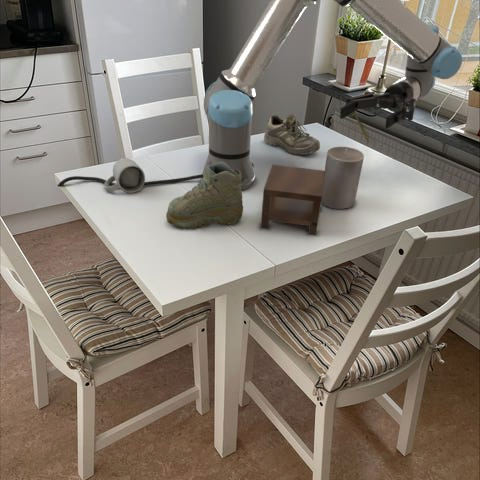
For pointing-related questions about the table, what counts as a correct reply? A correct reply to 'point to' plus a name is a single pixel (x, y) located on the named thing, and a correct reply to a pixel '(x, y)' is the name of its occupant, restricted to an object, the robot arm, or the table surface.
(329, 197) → the pillar candle
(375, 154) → the table surface
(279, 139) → the hiking shoe
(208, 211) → the sneaker
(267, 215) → the shelf rack
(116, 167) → the ceramic mug
